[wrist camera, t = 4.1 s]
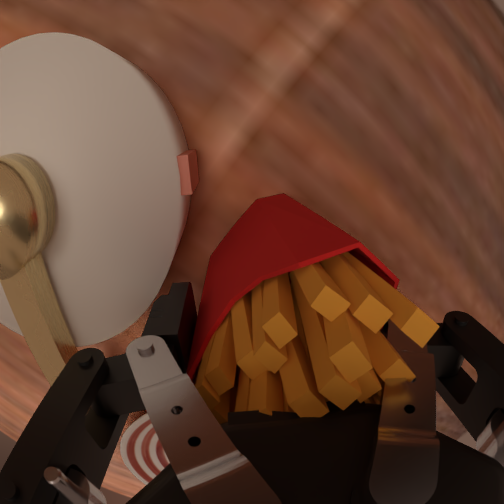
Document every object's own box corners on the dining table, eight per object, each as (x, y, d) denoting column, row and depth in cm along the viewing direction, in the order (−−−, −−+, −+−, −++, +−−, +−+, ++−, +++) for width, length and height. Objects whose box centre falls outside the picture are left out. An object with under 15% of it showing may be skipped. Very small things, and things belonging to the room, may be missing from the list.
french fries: (279, 168, 15) (394, 279, 4) (334, 214, 16) (474, 364, 5) (184, 286, 18) (142, 482, 7) (238, 320, 19) (249, 510, 8)
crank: (-27, 167, 10) (-125, 208, 4) (44, 141, 10) (-77, 173, 4) (65, 405, 16) (34, 483, 10) (130, 411, 16) (109, 503, 10)
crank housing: (7, 309, 18) (-19, 339, 14) (-38, 99, 11) (-77, 102, 8) (215, 302, 18) (212, 345, 14) (188, 17, 12) (175, -14, 8)
